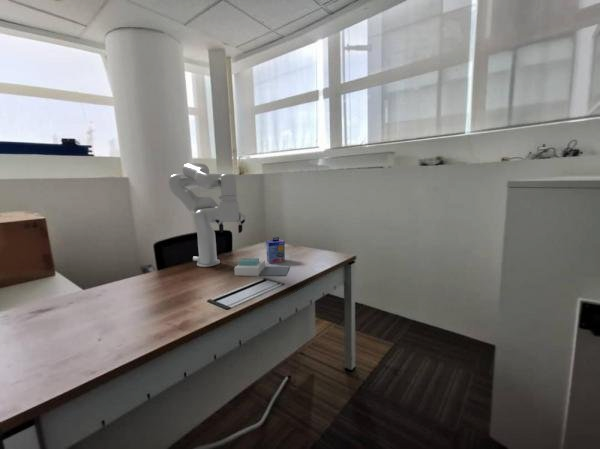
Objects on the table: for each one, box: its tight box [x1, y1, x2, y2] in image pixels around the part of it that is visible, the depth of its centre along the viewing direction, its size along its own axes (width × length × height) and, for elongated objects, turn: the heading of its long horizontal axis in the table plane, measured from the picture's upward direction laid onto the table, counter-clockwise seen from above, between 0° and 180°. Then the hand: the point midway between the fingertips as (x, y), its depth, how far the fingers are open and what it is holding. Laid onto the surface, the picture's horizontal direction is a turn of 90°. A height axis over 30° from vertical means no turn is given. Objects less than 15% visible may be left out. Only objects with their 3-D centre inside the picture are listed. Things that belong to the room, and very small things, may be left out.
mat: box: [259, 265, 291, 277], centre depth 142 cm, size 13×14×1 cm
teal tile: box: [238, 257, 260, 265], centre depth 143 cm, size 9×6×2 cm, turn 84°
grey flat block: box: [234, 259, 266, 277], centre depth 143 cm, size 12×14×4 cm
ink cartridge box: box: [265, 236, 286, 264], centre depth 159 cm, size 10×6×14 cm, turn 115°
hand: (231, 232), depth 142 cm, fingers open, 9 cm apart
